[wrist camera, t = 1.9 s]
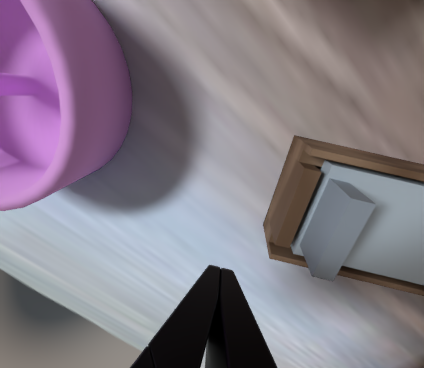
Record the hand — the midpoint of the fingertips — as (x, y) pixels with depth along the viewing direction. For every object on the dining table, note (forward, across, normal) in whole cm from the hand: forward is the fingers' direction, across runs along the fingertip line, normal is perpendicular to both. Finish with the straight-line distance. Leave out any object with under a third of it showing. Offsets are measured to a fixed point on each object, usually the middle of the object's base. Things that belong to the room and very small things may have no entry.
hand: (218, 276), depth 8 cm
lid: (+8, -11, 0) cm, 14 cm away
